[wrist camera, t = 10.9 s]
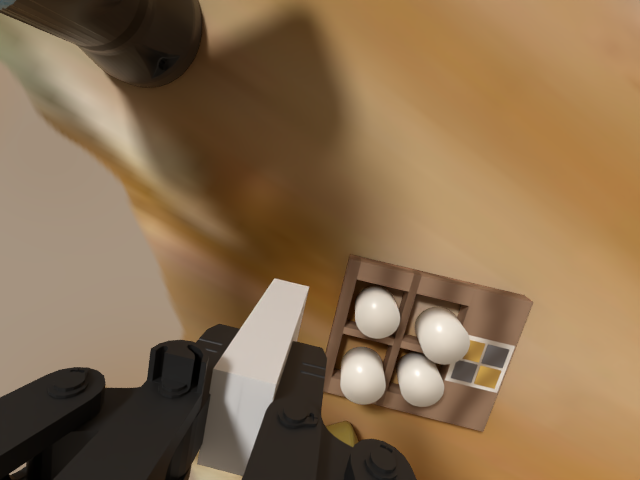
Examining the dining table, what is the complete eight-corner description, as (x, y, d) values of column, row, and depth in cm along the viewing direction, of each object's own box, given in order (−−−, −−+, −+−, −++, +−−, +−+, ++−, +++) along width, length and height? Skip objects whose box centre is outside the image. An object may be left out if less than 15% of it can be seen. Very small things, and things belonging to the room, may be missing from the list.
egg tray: (318, 379, 51) (317, 391, 49) (349, 254, 47) (350, 259, 44) (476, 419, 51) (483, 433, 48) (524, 295, 46) (534, 302, 43)
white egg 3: (409, 340, 45) (415, 358, 41) (421, 302, 44) (428, 316, 40) (451, 351, 45) (461, 369, 41) (464, 312, 44) (476, 327, 40)
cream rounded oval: (391, 381, 49) (395, 400, 45) (402, 347, 48) (406, 364, 44) (429, 391, 49) (437, 411, 45) (441, 357, 48) (449, 374, 44)
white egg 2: (337, 378, 47) (335, 398, 43) (346, 342, 46) (346, 359, 42) (376, 388, 47) (379, 409, 43) (387, 352, 46) (390, 370, 42)
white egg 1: (350, 318, 48) (350, 332, 44) (360, 281, 47) (361, 292, 43) (389, 328, 48) (393, 343, 44) (400, 291, 47) (405, 303, 42)
